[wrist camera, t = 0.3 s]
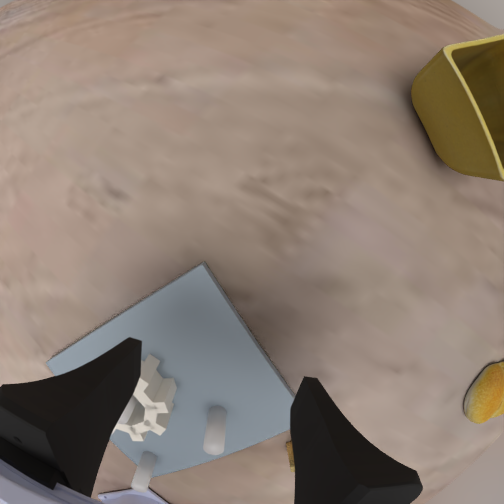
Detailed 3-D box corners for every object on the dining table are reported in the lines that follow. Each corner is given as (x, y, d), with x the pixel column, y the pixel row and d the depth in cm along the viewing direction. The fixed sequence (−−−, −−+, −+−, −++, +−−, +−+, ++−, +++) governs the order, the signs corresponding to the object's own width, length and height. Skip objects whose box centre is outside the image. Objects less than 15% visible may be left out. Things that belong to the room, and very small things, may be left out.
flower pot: (430, 186, 22) (506, 184, 13) (381, 90, 20) (441, 45, 12) (488, 151, 21) (556, 142, 12) (447, 66, 20) (507, 33, 11)
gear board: (153, 470, 26) (142, 507, 20) (51, 357, 23) (20, 385, 18) (306, 411, 25) (319, 454, 19) (204, 261, 22) (191, 280, 17)
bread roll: (472, 365, 25) (493, 381, 21) (517, 352, 25) (537, 365, 21) (450, 424, 26) (466, 442, 22) (497, 407, 27) (513, 421, 23)
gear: (133, 424, 23) (122, 448, 20) (84, 366, 22) (66, 386, 19) (192, 400, 23) (186, 426, 19) (140, 334, 22) (126, 354, 18)
